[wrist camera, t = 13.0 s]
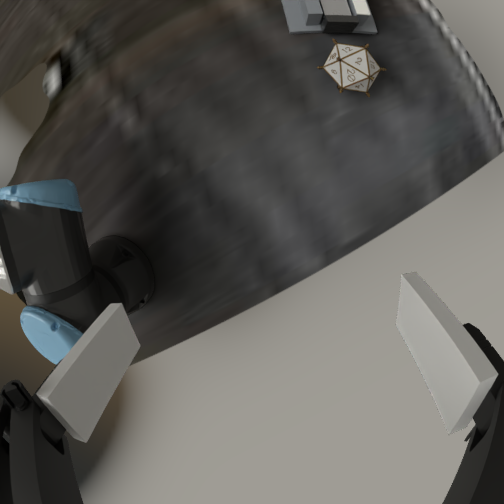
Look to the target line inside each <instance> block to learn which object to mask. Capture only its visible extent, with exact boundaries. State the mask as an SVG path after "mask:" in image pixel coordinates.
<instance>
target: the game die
mask: <svg viewBox="0 0 504 504" xmlns="http://www.w3.org/2000/svg"><path fill="white" fill-rule="evenodd" d="M333 42H334V43H335V46H334V48H333V49H332V51H331V53H330V55H329V57H328V58H327V60H326V62H325V64H324V66H318V67H317V68H318V69H324V70H325V71H326V72H327V73H328V74H329V75H330V76H331V77H332V78H333V80H334V81H335V82H336V83H337V84H338V86H337V88H338V89H340V90H339V91H340V93H341V92H343V91H344V90H343V89H346V90H353V91H360V92H366V95H367V96H368V97H370V94H369V93H368V90H369V89H370V87H371V86H372V84H373V82H374V81H375V79H376V77H377V76H378V74H379V72H380V71H381V70H382V71H385V70H387V69H385V68H383V67H382V68H380V67H379V65H378V64H377V62H376V61H375V60H374V58H373V57H372V55H371V54H370V53H369V51H368V50H367V48H368V47H369V44H366V45H365V47H363V46H360V47H359V46H353V45H347V44H340V43H337V41H336V40H335V39H333Z"/></svg>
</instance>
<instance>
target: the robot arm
mask: <svg viewBox="0 0 504 504" xmlns="http://www.w3.org/2000/svg"><path fill="white" fill-rule="evenodd" d="M0 289H2V290H4V291H6V292H8V293H10V294H14V293H16V292H18V291H20V290H22V291H23V293H24V296H25V299H26V301H27V304H28V306H26V307H25V308H24V309H23V312H22V313H21V326H22V328H23V331H24V333H25V334H26V336H27V338H28V339H29V341H30V342H31V343H32V345H33V346H34V347H35V348H36V349H37V350H38V351H39V352H40V353H41V354H42V355H43V356H45V357H46V358H47V359H48V360H50V361H51V362H53V363H54V364H56V366H55V368H54V370H52V372H51V373H50V374H49V376H47V378H46V379H45V380H44V382H43V383H42V384H41V386H40V387H39V388H38V390H37V391H36V392H35V394H34V395H33V396H32V397H31V395H30V394H29V393H28V391H27V390H26V389H25V388H24V386H23V384H22V383H21V382H20V381H19V380H13V381H10V382H8V383H7V384H6V385H5V386H4V387H3V388H2V390H1V393H0V504H83V501H82V498H81V494H80V491H79V488H78V484H77V481H76V476H75V472H74V468H73V464H72V460H71V455H70V450H69V444H68V440H67V437H66V436H65V435H64V432H65V431H66V430H67V431H68V432H69V433H70V434H71V436H72V437H73V438H75V439H78V440H81V441H83V442H87V440H88V439H89V437H90V435H91V433H92V431H93V429H94V428H95V426H96V424H97V422H98V420H99V418H100V416H101V414H102V413H103V411H104V409H105V407H106V405H107V404H108V402H109V400H110V398H111V396H112V395H113V393H114V391H115V389H116V387H117V386H118V384H119V382H120V380H121V379H122V377H123V375H124V374H125V372H126V370H127V368H128V367H129V365H130V363H131V362H132V360H133V358H134V356H135V355H136V353H137V351H138V350H139V348H140V344H139V342H138V340H137V337H136V335H135V333H134V331H133V328H132V326H131V324H130V321H129V319H128V317H127V315H129V314H131V313H133V312H135V311H137V310H139V309H141V308H142V307H143V306H144V305H145V304H146V303H147V301H148V300H149V298H150V297H151V295H152V293H153V290H154V273H153V270H152V267H151V264H150V262H149V260H148V259H147V257H146V256H145V254H144V253H143V252H142V251H141V250H140V249H139V248H138V247H137V246H136V245H135V244H134V243H132V242H131V241H129V240H127V239H125V238H122V237H118V236H107V237H104V238H102V239H100V240H98V241H97V242H95V243H94V244H92V245H91V246H90V248H88V244H87V239H86V234H85V229H84V223H83V218H82V208H81V207H80V203H79V199H78V193H77V189H76V186H75V184H74V183H73V182H72V181H70V180H68V179H55V180H45V181H37V182H31V183H24V184H19V185H14V186H8V187H3V188H1V189H0ZM396 326H397V328H398V330H399V332H400V333H401V335H402V337H403V339H404V341H405V343H406V344H407V347H408V348H409V350H410V352H411V354H412V356H413V358H414V360H415V362H416V364H417V366H418V368H419V370H420V372H421V374H422V376H423V378H424V380H425V382H426V384H427V387H428V389H429V391H430V393H431V395H432V397H433V399H434V402H435V404H436V406H437V409H438V411H439V413H440V415H441V418H442V420H443V423H444V425H445V427H446V430H447V432H448V435H450V434H452V433H454V432H457V431H459V430H462V429H464V428H466V427H467V425H468V424H469V422H470V421H471V419H472V418H473V419H474V421H475V423H476V425H475V426H474V427H473V429H472V430H471V432H470V433H469V434H468V436H467V437H466V439H465V441H468V439H469V438H470V440H469V443H468V446H467V449H466V451H465V454H464V457H463V459H462V462H461V465H460V467H459V470H458V472H457V474H456V476H455V479H454V481H453V483H452V485H451V487H450V490H449V492H448V494H447V496H446V498H445V500H444V502H443V503H442V504H504V361H503V359H502V358H501V357H500V356H499V354H498V353H497V351H496V350H495V349H494V348H493V347H491V344H490V342H489V341H488V340H486V337H485V336H484V335H483V334H482V332H480V330H479V329H478V328H476V327H475V326H473V325H471V324H470V323H467V324H464V325H462V324H461V323H460V322H459V320H458V319H457V318H456V317H455V315H454V314H453V313H452V312H451V311H450V310H449V308H448V307H447V306H446V305H445V304H444V302H443V301H442V300H441V299H440V298H439V297H438V295H437V294H436V293H435V292H434V291H433V290H432V289H431V288H430V286H429V285H428V284H427V283H426V282H425V281H424V280H423V279H422V278H421V277H420V276H419V274H418V273H417V272H413V273H406V274H402V275H401V286H400V296H399V304H398V312H397V320H396ZM3 432H4V433H5V434H6V435H7V436H8V437H9V438H10V444H9V443H8V442H7V441H6V440H5V439H4V438H3V437H2V436H3Z"/></svg>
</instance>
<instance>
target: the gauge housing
mask: <svg viewBox="0 0 504 504" xmlns="http://www.w3.org/2000/svg"><path fill="white" fill-rule="evenodd" d="M281 1H282V5H283V9H284V12H285V16H286V20H287V24H288V28H289V32H290V34H303V33H322V30H321V25H322V22H321V17H322V15H323V12H322V9H321V6H320V2H319V0H281ZM347 3H348V6H349V9H350V12H351V15H352V16H358V20H359V24H358V25H357V26H356V28H355V29H354V31H353V32H352V33H364V34H376V33H377V29H376V25H375V22H374V19H373V16H372V13H371V10H370V7H369V5H368V2H367V0H347Z"/></svg>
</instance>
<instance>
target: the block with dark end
mask: <svg viewBox="0 0 504 504" xmlns="http://www.w3.org/2000/svg"><path fill="white" fill-rule="evenodd" d="M319 2H320V6H321V9H322V12H323V15H322V17H321V22H322V25H321V30H322V33H352V32H353V31H354V29H355V28H356V26H357V25H358V24H359V20H358V16H352V15H351V12H350V9H349V6H348V3H347V0H319Z"/></svg>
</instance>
